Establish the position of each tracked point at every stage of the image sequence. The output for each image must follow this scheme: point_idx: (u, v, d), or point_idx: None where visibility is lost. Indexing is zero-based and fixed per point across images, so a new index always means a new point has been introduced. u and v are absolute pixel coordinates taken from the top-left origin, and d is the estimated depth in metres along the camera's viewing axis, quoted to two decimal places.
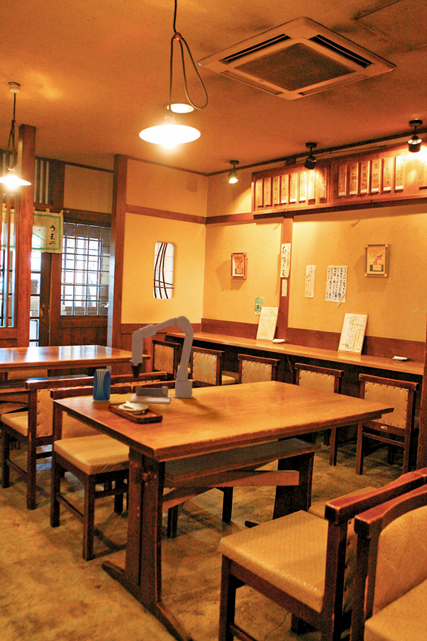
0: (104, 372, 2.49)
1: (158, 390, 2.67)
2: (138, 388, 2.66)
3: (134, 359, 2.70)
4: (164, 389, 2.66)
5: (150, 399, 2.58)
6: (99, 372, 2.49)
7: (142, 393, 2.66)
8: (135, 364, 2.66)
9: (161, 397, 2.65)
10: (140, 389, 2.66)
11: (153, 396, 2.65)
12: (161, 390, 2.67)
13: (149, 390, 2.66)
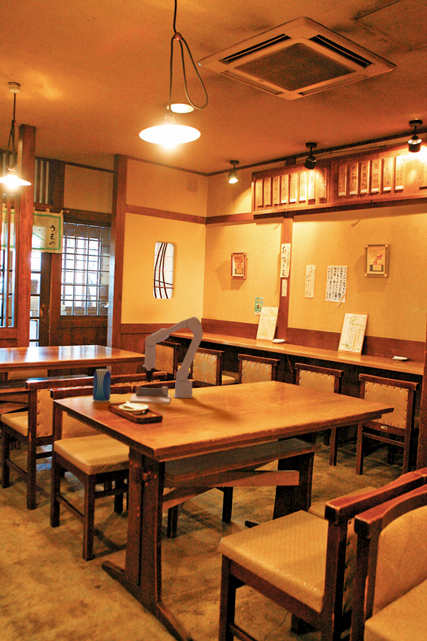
0: (104, 372, 2.49)
1: (158, 390, 2.67)
2: (138, 388, 2.66)
3: (147, 364, 2.72)
4: (164, 389, 2.66)
5: (150, 399, 2.58)
6: (99, 372, 2.49)
7: (142, 393, 2.66)
8: (148, 369, 2.67)
9: (161, 397, 2.65)
10: (140, 389, 2.66)
11: (153, 396, 2.65)
12: (161, 390, 2.67)
13: (149, 390, 2.66)
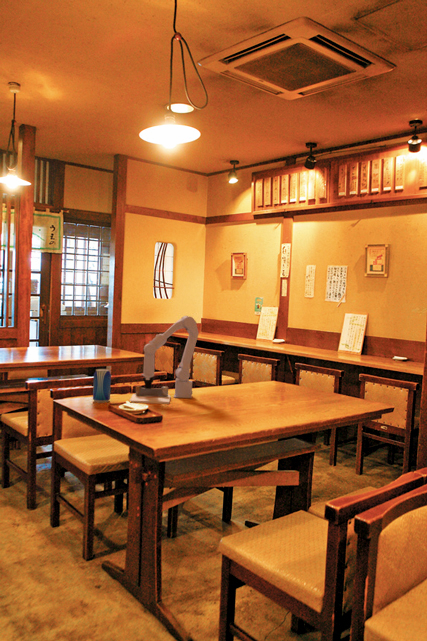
0: (104, 372, 2.49)
1: (158, 390, 2.67)
2: (138, 388, 2.66)
3: (146, 373, 2.67)
4: (164, 389, 2.66)
5: (150, 399, 2.58)
6: (99, 372, 2.49)
7: (142, 393, 2.66)
8: (147, 378, 2.62)
9: (161, 397, 2.65)
10: (140, 389, 2.66)
11: (153, 396, 2.65)
12: (161, 390, 2.67)
13: (149, 390, 2.66)
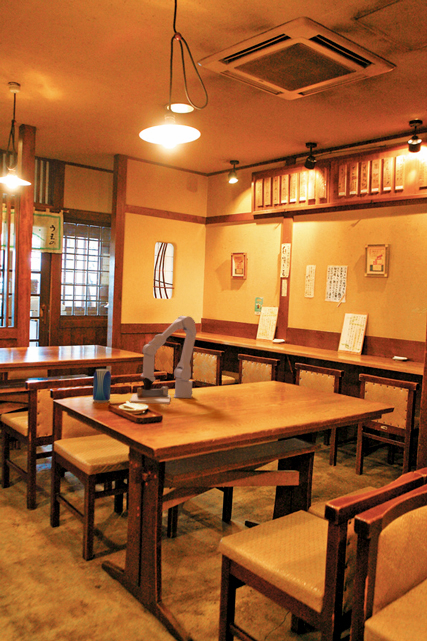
0: (104, 372, 2.49)
1: (159, 391, 2.65)
2: (141, 390, 2.60)
3: (148, 374, 2.62)
4: (165, 389, 2.66)
5: (150, 399, 2.58)
6: (99, 372, 2.49)
7: (144, 395, 2.61)
8: (153, 380, 2.59)
9: (161, 397, 2.65)
10: (142, 391, 2.61)
11: None
12: (162, 390, 2.66)
13: (151, 391, 2.63)
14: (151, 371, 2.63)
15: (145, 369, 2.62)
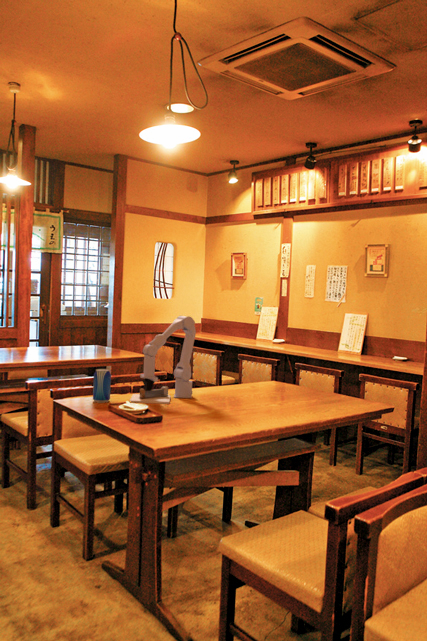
0: (104, 372, 2.49)
1: (160, 391, 2.65)
2: (144, 391, 2.58)
3: (149, 375, 2.61)
4: (166, 389, 2.67)
5: (150, 399, 2.58)
6: (99, 372, 2.49)
7: (147, 396, 2.60)
8: (156, 380, 2.58)
9: (161, 397, 2.65)
10: (145, 392, 2.59)
11: None
12: (163, 390, 2.66)
13: (153, 392, 2.62)
14: (152, 371, 2.62)
15: (146, 370, 2.61)
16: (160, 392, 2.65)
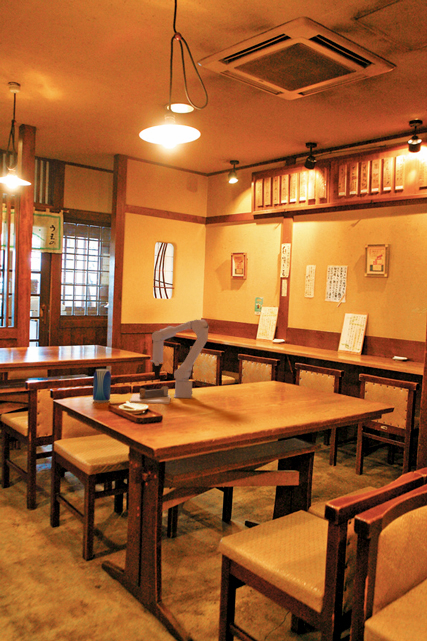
0: (104, 372, 2.49)
1: (160, 391, 2.65)
2: (144, 391, 2.58)
3: (155, 359, 2.76)
4: (166, 389, 2.67)
5: (150, 399, 2.58)
6: (99, 372, 2.49)
7: (147, 396, 2.60)
8: (156, 364, 2.72)
9: (161, 397, 2.65)
10: (145, 392, 2.59)
11: None
12: (163, 390, 2.66)
13: (153, 392, 2.62)
14: (158, 356, 2.76)
15: (153, 354, 2.77)
16: (160, 392, 2.65)
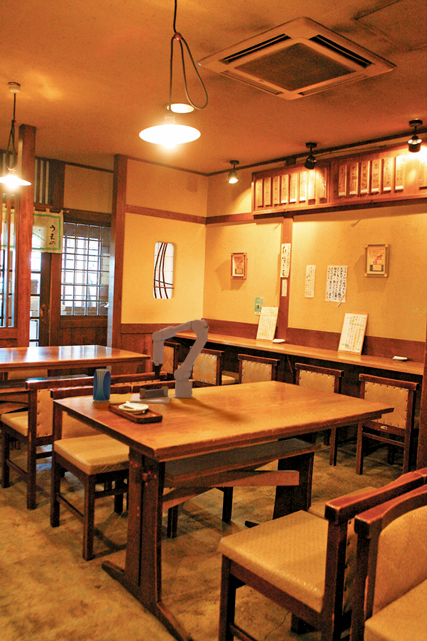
0: (104, 372, 2.49)
1: (160, 391, 2.65)
2: (144, 391, 2.58)
3: (155, 359, 2.76)
4: (166, 389, 2.67)
5: (150, 399, 2.58)
6: (99, 372, 2.49)
7: (147, 396, 2.60)
8: (156, 364, 2.72)
9: (161, 397, 2.65)
10: (145, 392, 2.59)
11: None
12: (163, 390, 2.66)
13: (153, 392, 2.62)
14: (158, 356, 2.76)
15: (153, 354, 2.77)
16: (160, 392, 2.65)
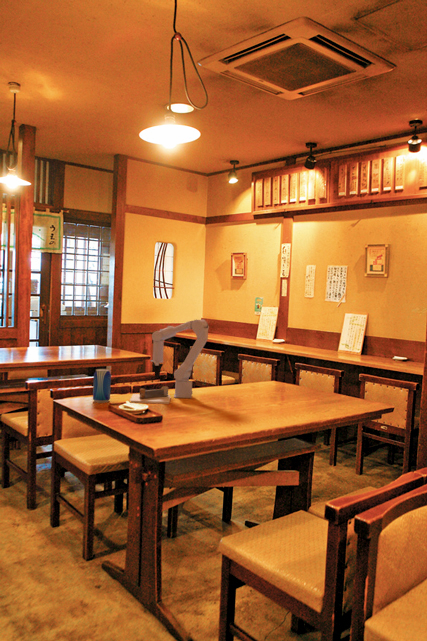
0: (104, 372, 2.49)
1: (160, 391, 2.65)
2: (144, 391, 2.58)
3: (155, 359, 2.76)
4: (166, 389, 2.67)
5: (150, 399, 2.58)
6: (99, 372, 2.49)
7: (147, 396, 2.60)
8: (156, 364, 2.72)
9: (161, 397, 2.65)
10: (145, 392, 2.59)
11: None
12: (163, 390, 2.66)
13: (153, 392, 2.62)
14: (158, 356, 2.76)
15: (153, 354, 2.77)
16: (160, 392, 2.65)
